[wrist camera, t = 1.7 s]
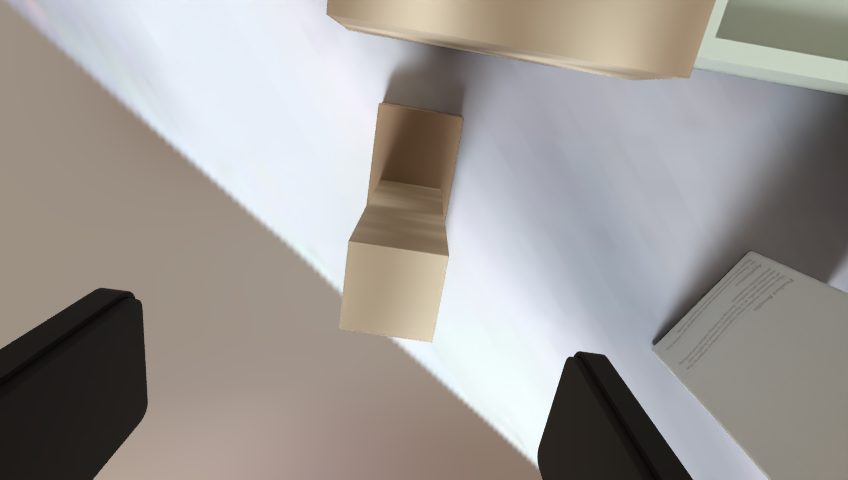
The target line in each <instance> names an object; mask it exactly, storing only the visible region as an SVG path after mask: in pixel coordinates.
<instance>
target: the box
mask: <svg viewBox="0 0 848 480" xmlns="http://www.w3.org/2000/svg"><path fill="white" fill-rule="evenodd" d="M693 68H696V69H701V70H707V71H713V72H718V73H724V74H730V75H735V76H741V77H747V78H752V79H758V80H763V81H769V82H775V83H780V84H786V85H792V86H797V87H803V88H809V89H814V90H820V91H825V92H831V93H837V94H842V95H848V0H716V2H715V5H714V8H713V10H712V13H711V16H710V19H709V22H708V25H707V28H706V31H705V34H704V37H703V40H702V43H701V46H700V49H699V52H698V54H697V57H696V60H695V63H694V66H693Z"/></svg>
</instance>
